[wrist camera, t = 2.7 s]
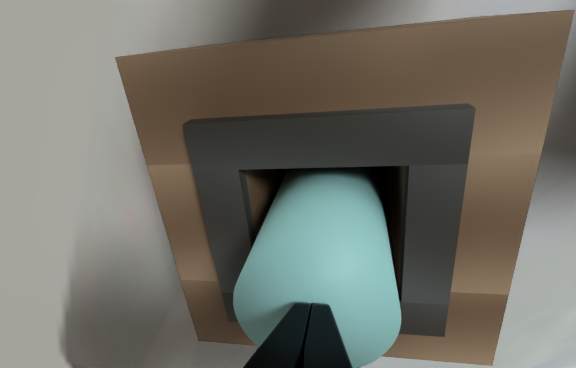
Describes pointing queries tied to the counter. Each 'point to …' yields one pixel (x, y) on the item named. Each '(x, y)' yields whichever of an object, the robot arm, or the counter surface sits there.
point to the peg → (324, 260)
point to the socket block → (359, 157)
